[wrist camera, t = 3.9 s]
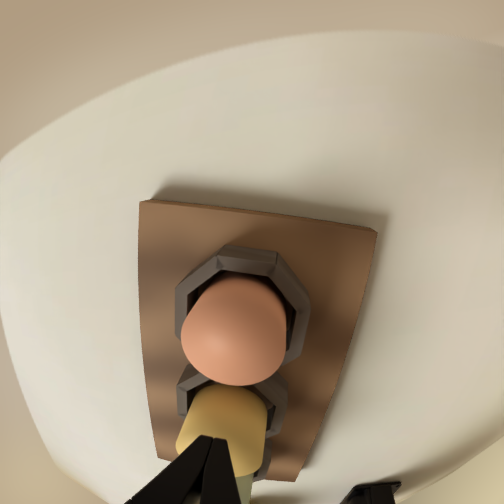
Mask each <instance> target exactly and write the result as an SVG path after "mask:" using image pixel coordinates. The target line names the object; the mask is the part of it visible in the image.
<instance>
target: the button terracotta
mask: <svg viewBox="0 0 504 504" xmlns="http://www.w3.org/2000/svg"><path fill="white" fill-rule="evenodd" d="M181 343H182V347H183V350H184V353H185V355H186V357H187V358H188V360H189V361H190V363H191V364H192V365H193V366H194V367H195V368H196V369H197V370H198V371H199V372H200V373H202V374H203V375H205V376H206V377H208V378H210V379H212V380H214V381H216V382H219V383H223V384H227V385H234V386H243V385H251V384H255V383H258V382H261V381H263V380H265V379H267V378H268V377H270V376H271V375H272V374H273V373H274V372H275V371H276V370H277V369H278V368H279V366H280V365H281V363H282V361H283V359H284V356H285V351H286V302H285V299H284V296H283V294H282V292H281V291H280V290H279V289H278V287H277V286H276V285H275V284H274V282H273V281H272V280H271V279H270V278H269V277H267V276H263V275H256V274H249V273H242V272H235V271H226V272H224V273H222V274H220V275H218V276H217V277H215V278H214V279H213V280H212V281H211V282H210V283H209V284H208V286H207V287H206V289H205V290H204V292H203V293H202V295H201V296H200V298H199V299H198V301H197V302H196V304H195V305H194V307H193V308H192V310H191V311H190V313H189V314H188V316H187V317H186V319H185V321H184V323H183V326H182V330H181Z"/></svg>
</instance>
